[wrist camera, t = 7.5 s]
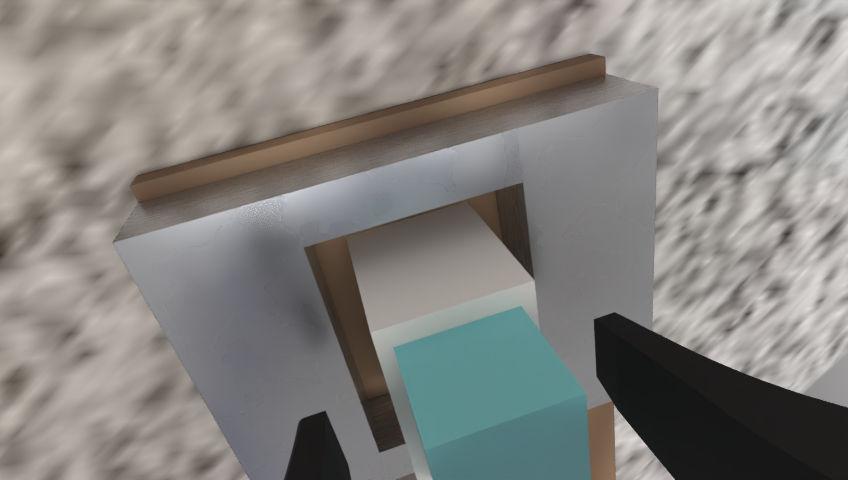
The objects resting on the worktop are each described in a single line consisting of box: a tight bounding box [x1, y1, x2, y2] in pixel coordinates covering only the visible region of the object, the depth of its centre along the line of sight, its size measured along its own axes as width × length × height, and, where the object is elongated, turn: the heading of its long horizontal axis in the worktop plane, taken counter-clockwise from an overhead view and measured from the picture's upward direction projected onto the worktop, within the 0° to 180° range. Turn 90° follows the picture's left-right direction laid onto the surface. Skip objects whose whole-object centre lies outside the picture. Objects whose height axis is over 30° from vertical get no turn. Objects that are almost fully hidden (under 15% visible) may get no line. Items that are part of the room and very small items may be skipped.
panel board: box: [130, 54, 616, 480], centre depth 21 cm, size 14×24×1 cm, turn 11°
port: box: [112, 74, 658, 480], centre depth 16 cm, size 14×11×2 cm
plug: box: [346, 202, 591, 480], centre depth 14 cm, size 4×6×8 cm, turn 11°
